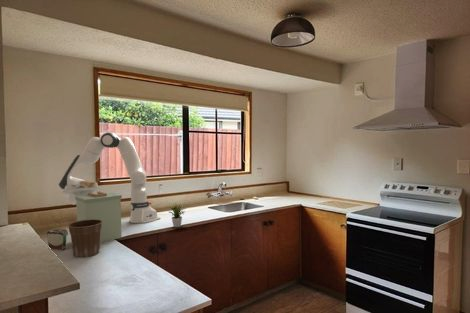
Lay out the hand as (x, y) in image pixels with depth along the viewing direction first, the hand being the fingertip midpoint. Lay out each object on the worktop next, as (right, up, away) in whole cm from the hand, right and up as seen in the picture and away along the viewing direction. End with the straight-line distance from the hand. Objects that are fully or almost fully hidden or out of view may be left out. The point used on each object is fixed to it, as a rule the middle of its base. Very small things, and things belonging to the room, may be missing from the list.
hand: (84, 182), depth 202 cm
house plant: (+59, -31, +10) cm, 67 cm away
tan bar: (+3, -2, -3) cm, 5 cm away
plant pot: (+21, -33, -42) cm, 58 cm away
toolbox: (+17, -32, -16) cm, 40 cm away
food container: (+2, -33, -33) cm, 47 cm away
